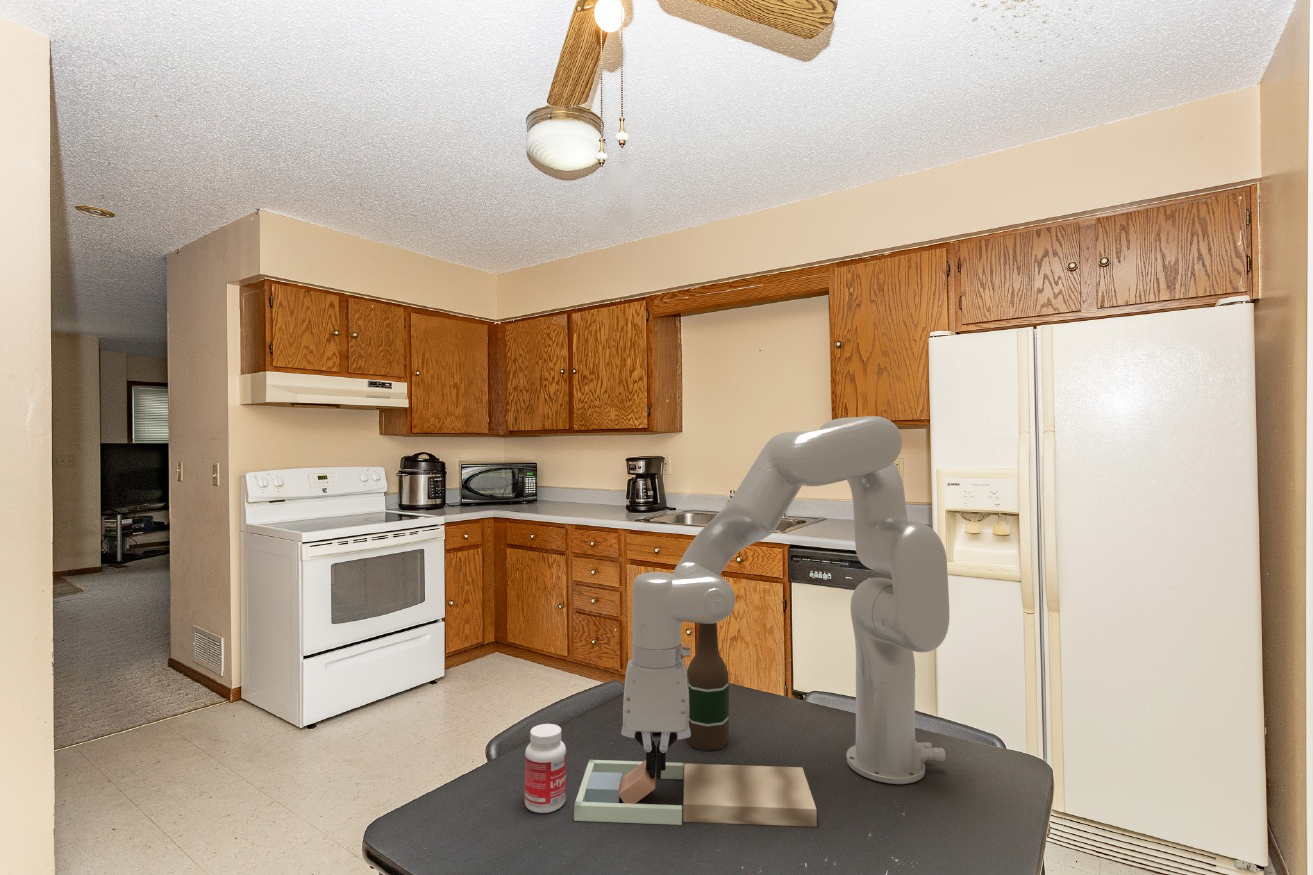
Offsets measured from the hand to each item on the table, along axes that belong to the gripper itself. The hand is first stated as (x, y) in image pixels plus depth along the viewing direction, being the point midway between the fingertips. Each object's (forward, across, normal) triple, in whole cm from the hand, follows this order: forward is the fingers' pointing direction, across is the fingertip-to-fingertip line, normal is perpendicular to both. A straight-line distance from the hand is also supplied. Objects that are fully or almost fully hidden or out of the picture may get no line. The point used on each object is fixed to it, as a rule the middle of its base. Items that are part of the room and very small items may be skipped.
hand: (655, 774), depth 99 cm
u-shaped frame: (+4, +4, 0) cm, 5 cm away
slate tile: (+1, +8, 0) cm, 8 cm away
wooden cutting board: (+4, -14, 0) cm, 14 cm away
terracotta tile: (+2, +2, 0) cm, 3 cm away
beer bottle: (+4, -8, -20) cm, 22 cm away
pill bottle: (+4, +17, +2) cm, 17 cm away
